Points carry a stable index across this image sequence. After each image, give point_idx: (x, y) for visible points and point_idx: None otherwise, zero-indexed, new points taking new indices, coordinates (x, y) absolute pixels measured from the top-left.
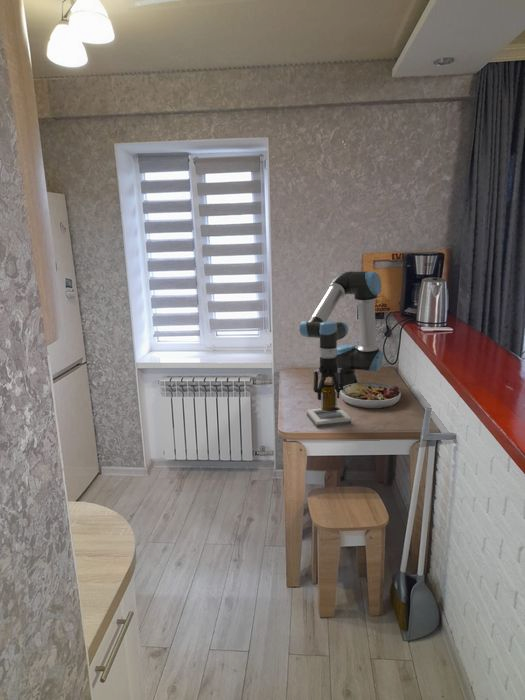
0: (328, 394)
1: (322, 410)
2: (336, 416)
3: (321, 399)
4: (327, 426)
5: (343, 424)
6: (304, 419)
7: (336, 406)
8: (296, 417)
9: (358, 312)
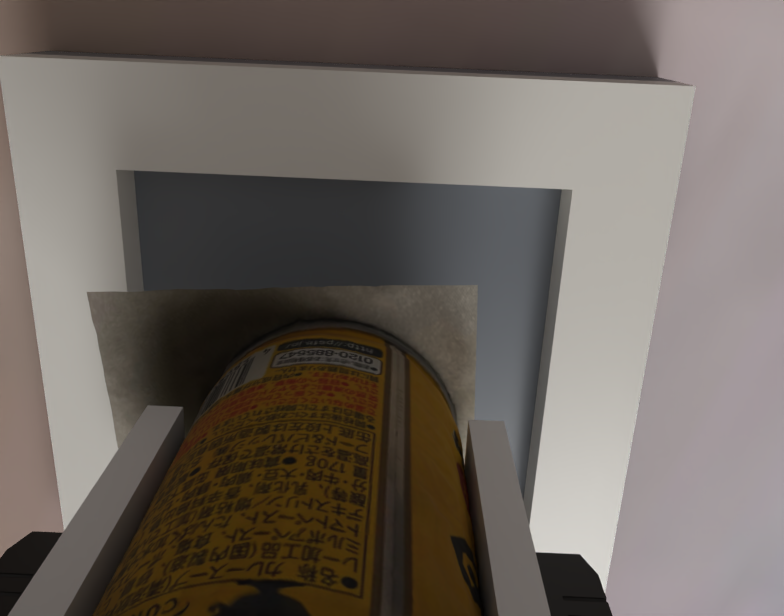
0: (345, 565)
1: None
2: None
3: (528, 536)
4: (472, 70)
5: (186, 58)
6: (678, 446)
7: None
8: (747, 540)
9: None
